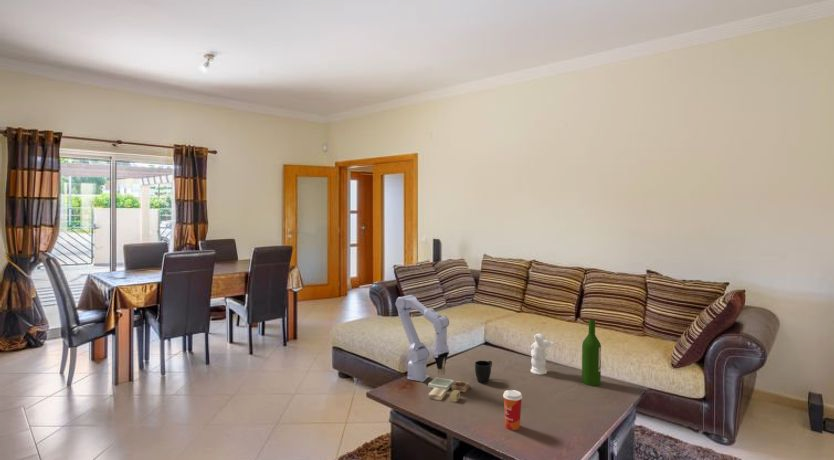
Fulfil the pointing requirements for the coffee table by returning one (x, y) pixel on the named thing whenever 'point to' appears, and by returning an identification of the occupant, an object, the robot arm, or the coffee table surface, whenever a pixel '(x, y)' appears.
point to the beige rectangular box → (437, 394)
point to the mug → (483, 371)
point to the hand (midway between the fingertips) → (441, 367)
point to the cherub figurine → (539, 354)
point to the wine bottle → (591, 358)
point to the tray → (441, 383)
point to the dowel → (442, 371)
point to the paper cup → (512, 409)
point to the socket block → (460, 386)
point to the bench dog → (455, 395)
